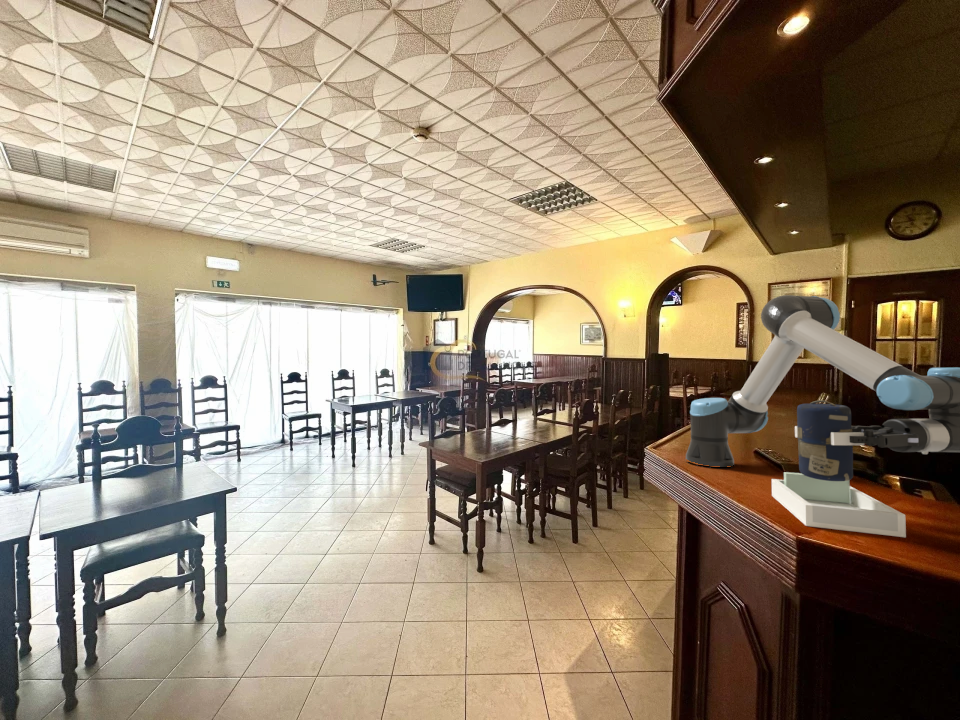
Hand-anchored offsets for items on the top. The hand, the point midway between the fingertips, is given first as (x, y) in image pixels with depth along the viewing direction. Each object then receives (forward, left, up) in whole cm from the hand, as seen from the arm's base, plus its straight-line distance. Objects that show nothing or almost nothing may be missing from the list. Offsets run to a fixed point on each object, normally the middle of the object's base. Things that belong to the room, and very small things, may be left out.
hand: (813, 435), depth 91 cm
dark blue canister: (-1, +2, -10) cm, 10 cm away
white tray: (-4, +4, -19) cm, 19 cm away
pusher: (-11, +4, -17) cm, 21 cm away
